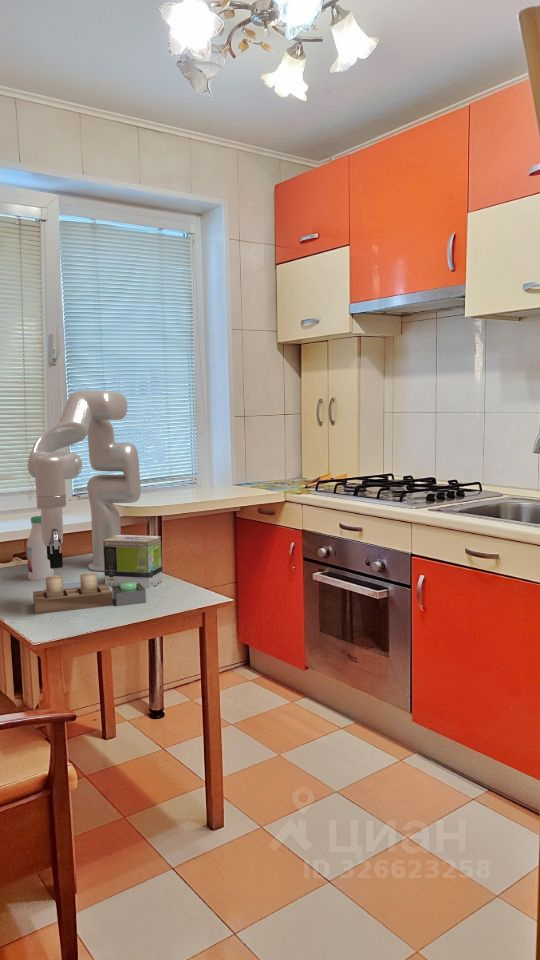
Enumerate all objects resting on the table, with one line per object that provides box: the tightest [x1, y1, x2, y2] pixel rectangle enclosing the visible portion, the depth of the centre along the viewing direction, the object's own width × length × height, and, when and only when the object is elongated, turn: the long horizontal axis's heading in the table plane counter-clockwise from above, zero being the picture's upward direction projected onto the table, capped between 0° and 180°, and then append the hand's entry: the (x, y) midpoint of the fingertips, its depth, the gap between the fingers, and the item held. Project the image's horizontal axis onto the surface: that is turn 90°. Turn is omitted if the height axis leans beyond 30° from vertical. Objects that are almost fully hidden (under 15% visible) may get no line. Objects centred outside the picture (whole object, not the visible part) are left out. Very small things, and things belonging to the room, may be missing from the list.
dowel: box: [45, 575, 64, 598], centre depth 191 cm, size 4×4×8 cm
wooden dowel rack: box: [32, 583, 114, 615], centre depth 193 cm, size 10×20×4 cm, turn 112°
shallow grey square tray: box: [63, 580, 81, 589], centre depth 205 cm, size 13×13×2 cm
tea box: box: [103, 534, 163, 589], centre depth 215 cm, size 15×10×15 cm, turn 74°
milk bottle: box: [26, 515, 55, 581], centre depth 223 cm, size 8×8×20 cm
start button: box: [120, 582, 137, 591], centre depth 196 cm, size 4×4×3 cm
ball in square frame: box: [111, 583, 147, 607], centre depth 196 cm, size 8×8×4 cm
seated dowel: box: [79, 572, 98, 594], centre depth 194 cm, size 4×4×8 cm
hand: (54, 563), depth 191 cm, fingers open, 9 cm apart
